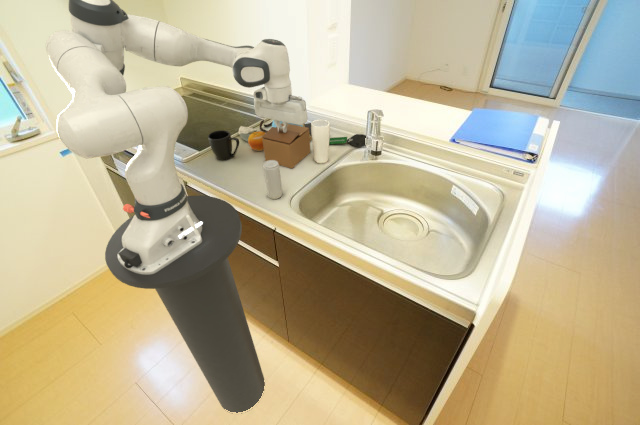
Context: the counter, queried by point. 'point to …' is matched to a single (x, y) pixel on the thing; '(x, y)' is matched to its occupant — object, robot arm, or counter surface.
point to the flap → (280, 135)
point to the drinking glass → (320, 140)
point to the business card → (337, 140)
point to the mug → (222, 144)
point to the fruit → (256, 140)
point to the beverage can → (272, 179)
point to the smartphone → (308, 127)
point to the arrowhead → (246, 130)
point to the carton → (288, 147)
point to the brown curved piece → (264, 125)
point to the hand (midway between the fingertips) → (282, 131)
